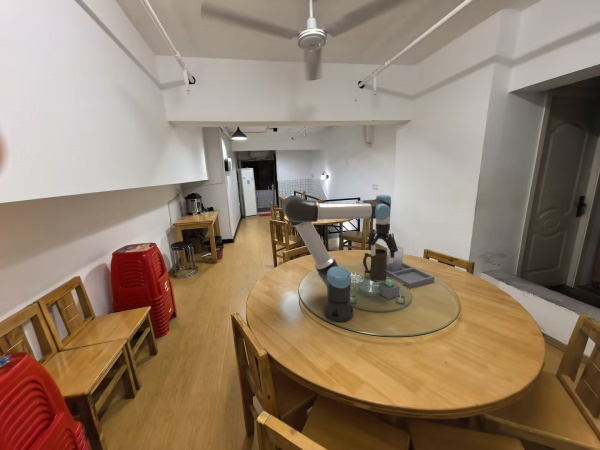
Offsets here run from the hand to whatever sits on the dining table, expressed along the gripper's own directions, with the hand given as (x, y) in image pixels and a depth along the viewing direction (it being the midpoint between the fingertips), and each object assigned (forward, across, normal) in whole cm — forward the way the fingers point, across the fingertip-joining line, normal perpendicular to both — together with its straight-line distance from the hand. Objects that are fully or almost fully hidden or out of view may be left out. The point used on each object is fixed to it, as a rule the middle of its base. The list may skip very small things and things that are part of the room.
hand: (381, 258), depth 134 cm
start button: (+19, -4, -3) cm, 19 cm away
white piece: (+21, +18, -29) cm, 40 cm away
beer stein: (+22, +16, -10) cm, 29 cm away
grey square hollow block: (+22, -4, -3) cm, 22 cm away
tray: (+22, +10, -30) cm, 38 cm away
